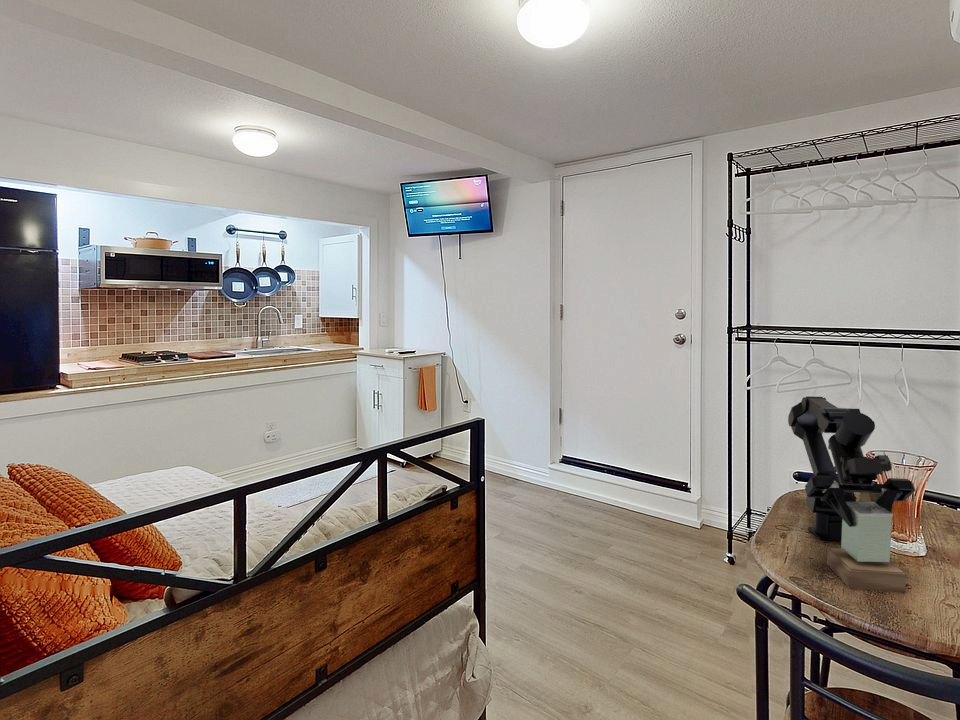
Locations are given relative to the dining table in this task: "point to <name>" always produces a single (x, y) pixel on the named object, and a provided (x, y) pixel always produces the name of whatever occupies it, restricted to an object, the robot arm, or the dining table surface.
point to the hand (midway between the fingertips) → (869, 527)
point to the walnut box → (866, 572)
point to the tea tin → (867, 532)
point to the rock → (868, 497)
